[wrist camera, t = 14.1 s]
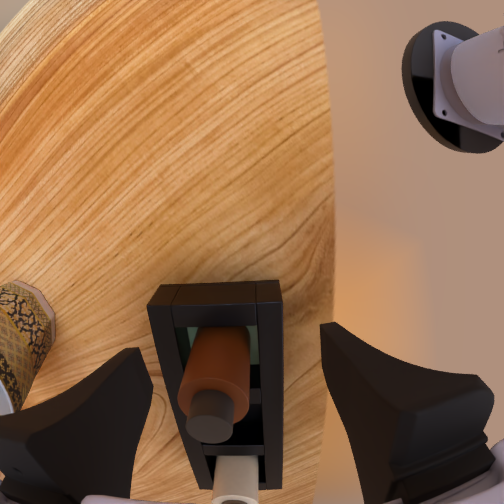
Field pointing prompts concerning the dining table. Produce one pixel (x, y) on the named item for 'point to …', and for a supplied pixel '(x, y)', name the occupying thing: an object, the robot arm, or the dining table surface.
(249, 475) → the cream bottle
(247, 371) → the spice bottle
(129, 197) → the dining table surface
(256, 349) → the holder
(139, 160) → the dining table surface
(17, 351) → the ceramic cup
